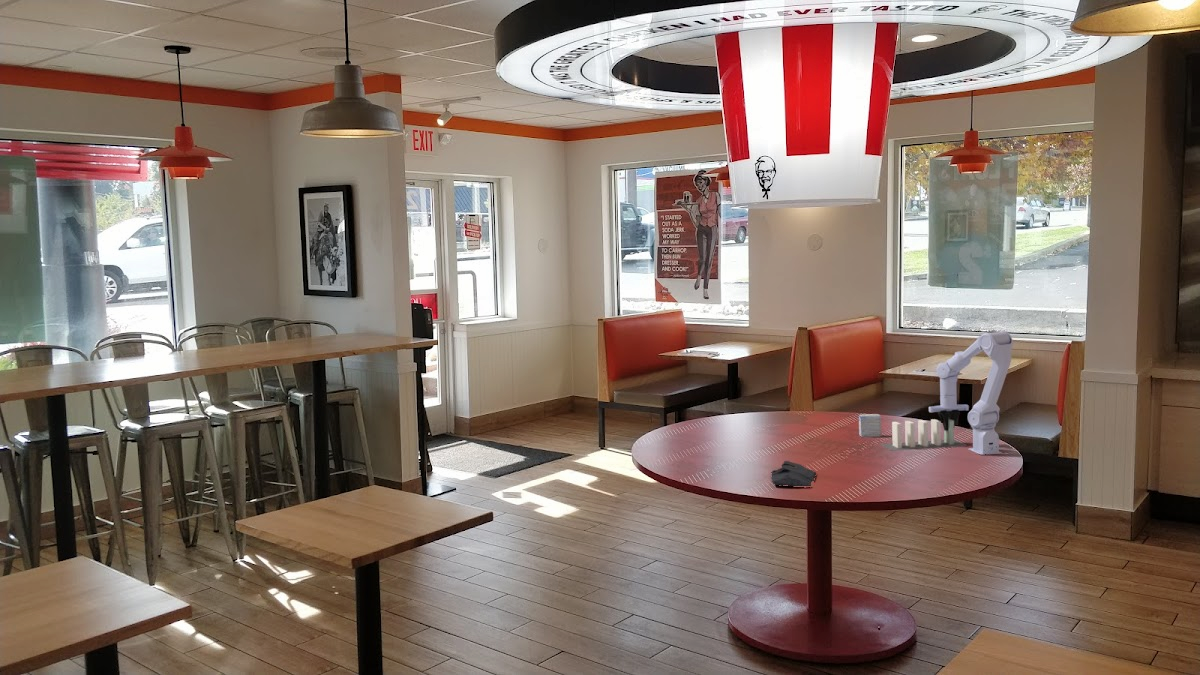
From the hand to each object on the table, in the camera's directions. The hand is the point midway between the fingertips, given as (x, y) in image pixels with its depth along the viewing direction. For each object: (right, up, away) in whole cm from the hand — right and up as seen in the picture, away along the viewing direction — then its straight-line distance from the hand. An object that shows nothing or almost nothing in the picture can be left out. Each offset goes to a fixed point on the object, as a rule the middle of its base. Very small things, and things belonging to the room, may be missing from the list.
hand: (948, 430), depth 348 cm
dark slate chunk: (-67, -13, -41) cm, 80 cm away
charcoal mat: (-10, -6, 0) cm, 11 cm away
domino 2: (-15, -6, -1) cm, 16 cm away
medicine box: (-23, -5, +22) cm, 32 cm away
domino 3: (-10, -6, 0) cm, 11 cm away
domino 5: (0, -5, 0) cm, 5 cm away
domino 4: (-5, -5, 0) cm, 7 cm away
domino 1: (-20, -6, -1) cm, 21 cm away
